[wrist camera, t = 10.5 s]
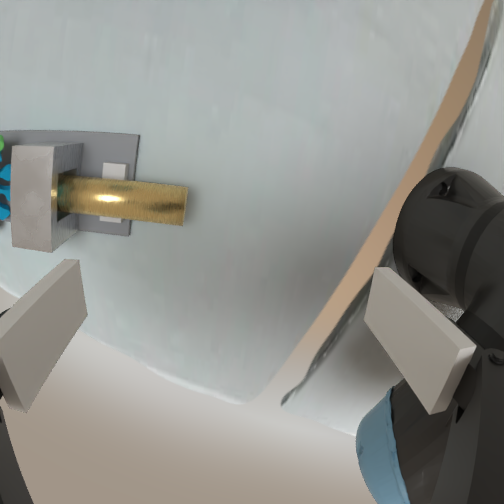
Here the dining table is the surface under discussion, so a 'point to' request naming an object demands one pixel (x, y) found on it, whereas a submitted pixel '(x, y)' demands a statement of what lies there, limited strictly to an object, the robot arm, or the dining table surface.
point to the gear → (3, 210)
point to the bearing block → (42, 194)
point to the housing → (86, 166)
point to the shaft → (122, 199)
